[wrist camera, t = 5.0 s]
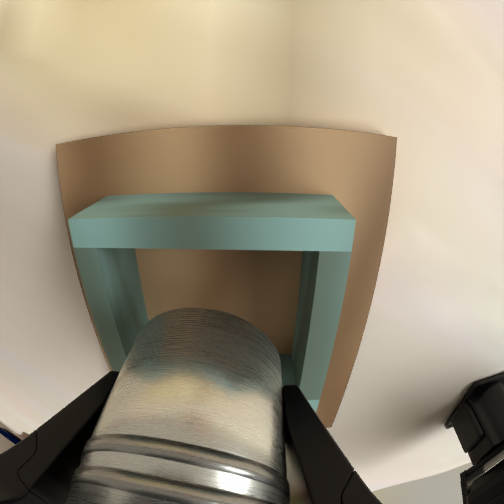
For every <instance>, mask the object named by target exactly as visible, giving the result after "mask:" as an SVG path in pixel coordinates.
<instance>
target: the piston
mask: <svg viewBox="0 0 504 504" xmlns="http://www.w3.org/2000/svg"><path fill="white" fill-rule="evenodd" d="M80 461H81V463H80V466H79V467H78V468H77V469H76V470H75V473H74V475H73V478H72V480H71V483H70V487H71V490H70V493H69V496H68V499H67V502H66V504H289V503H290V485H289V482H288V480H287V466H286V445H285V426H284V408H283V391H282V376H281V362H280V357H279V354H278V352H277V349H276V347H275V346H274V344H273V342H272V341H271V340H270V339H269V338H268V337H267V335H265V334H264V333H263V332H262V331H261V330H260V329H259V328H257V327H256V326H254V325H253V324H251V323H250V322H248V321H246V320H244V319H242V318H240V317H238V316H235V315H233V314H230V313H226V312H223V311H219V310H214V309H209V308H199V307H198V308H180V309H174V310H170V311H167V312H164V313H161V314H159V315H157V316H156V317H154V318H152V319H151V320H150V321H148V322H147V323H146V324H145V325H144V326H143V328H142V329H141V330H140V332H139V334H138V336H137V338H136V340H135V342H134V344H133V346H132V348H131V350H130V352H129V354H128V356H127V358H126V360H125V362H124V364H123V367H122V369H121V371H120V373H119V375H118V377H117V379H116V381H115V384H114V386H113V388H112V390H111V392H110V395H109V397H108V399H107V401H106V403H105V406H104V408H103V410H102V413H101V415H100V417H99V419H98V422H97V424H96V426H95V429H94V431H93V434H92V436H91V438H90V439H89V440H88V441H87V443H86V445H85V447H84V450H83V452H82V455H81V457H80Z"/></svg>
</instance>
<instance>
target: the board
mask: <svg viewBox="0 0 504 504" xmlns="http://www.w3.org/2000/svg"><path fill="white" fill-rule="evenodd" d="M396 144H397V137H391V136H385V135H378V134H371V133H363V132H354V131H345V130H335V129H323V128H310V127H292V126H260V125H231V126H199V127H182V128H168V129H156V130H146V131H137V132H129V133H121V134H114V135H107V136H100V137H94V138H88V139H82V140H77V141H72V142H67V143H62V144H57V145H56V152H57V163H58V173H59V181H60V189H61V196H62V202H63V209H64V214H65V220H66V225H67V230H68V235H69V240H70V245H71V249H72V254H73V258H74V262H75V266H76V270H77V274H78V278H79V281H80V285H81V288H82V292H83V295H84V299H85V302H86V305H87V308H88V311H89V315H90V318H91V321H92V324H93V326H94V329H95V332H96V335H97V338H98V340H99V343H100V346H101V348H102V351H103V354H104V356H105V359H106V361H107V364H108V366H109V369H110V371H118V372H120V371H121V369H122V367H123V364H124V362H125V360H126V358H127V356H128V354H129V352H130V350H131V348H132V346H133V344H134V342H135V340H136V338H137V336H138V334H139V332H140V330H141V329H142V328H143V326H144V325H145V324H146V323H147V322H148V321H150V320H151V319H152V318H154V317H156V316H157V315H159V314H161V313H164V312H167V311H170V310H174V309H180V308H198V307H199V308H209V309H214V310H219V311H223V312H226V313H230V314H233V315H235V316H238V317H240V318H242V319H244V320H246V321H248V322H250V323H251V324H253V325H254V326H256V327H257V328H259V329H260V330H261V331H262V332H263V333H264V334H265V335H267V337H268V338H269V339H270V340H271V341H272V342H273V344H274V346H275V347H276V349H277V352H278V354H279V357H280V362H281V376H282V389H283V386H284V385H297V386H298V387H299V388H300V390H301V391H302V393H303V394H304V396H305V397H306V399H307V400H308V402H309V403H310V405H311V406H312V408H313V409H314V411H315V412H316V414H317V415H318V417H319V418H320V420H321V421H322V423H323V424H324V426H325V427H326V428H327V427H332V424H333V422H334V419H335V417H336V414H337V412H338V409H339V406H340V404H341V401H342V398H343V395H344V392H345V390H346V387H347V384H348V381H349V378H350V375H351V372H352V369H353V366H354V363H355V359H356V356H357V353H358V350H359V346H360V343H361V340H362V336H363V332H364V329H365V325H366V322H367V318H368V314H369V310H370V306H371V302H372V298H373V294H374V289H375V285H376V281H377V276H378V271H379V266H380V262H381V256H382V251H383V246H384V240H385V235H386V229H387V222H388V216H389V209H390V202H391V194H392V186H393V177H394V168H395V157H396Z"/></svg>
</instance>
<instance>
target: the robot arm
mask: <svg viewBox="0 0 504 504" xmlns="http://www.w3.org/2000/svg"><path fill="white" fill-rule="evenodd" d="M119 373H120V372H118V371H110V372H109V373H108V374H106V375H105V376H104V377H103V378H101V379H100V380H99V381H98V382H96V383H95V384H94V385H92V386H91V387H90V388H89V389H87V390H86V391H85V392H84V393H82V394H81V395H80V396H79V397H77V398H76V399H75V400H73V401H72V402H71V403H70V404H68V405H67V406H66V407H65V408H63V409H62V410H61V411H59V412H58V413H57V414H56V415H54V416H53V417H52V418H51V419H49V420H48V421H47V422H45V423H44V424H43V425H42V426H40V427H39V428H38V429H37V430H35V431H34V432H32V433H31V434H30V435H29V436H28V437H26V438H25V439H23V440H22V441H20V442H19V443H18V444H16V445H15V446H13V447H12V448H10V449H8V450H7V451H5V452H3V453H2V454H0V504H66V502H67V499H68V496H69V493H70V490H71V487H70V483H71V480H72V478H73V475H74V473H75V470H76V469H77V468H78V467H79V466H80V463H81V461H80V457H81V455H82V452H83V450H84V447H85V445H86V443H87V441H88V440H89V439H90V438H91V436H92V434H93V431H94V429H95V426H96V424H97V422H98V419H99V417H100V415H101V413H102V410H103V408H104V406H105V403H106V401H107V399H108V397H109V395H110V392H111V390H112V388H113V386H114V384H115V381H116V379H117V377H118V375H119ZM282 391H283V408H284V426H285V445H286V466H287V480H288V482H289V485H290V503H289V504H382V503H381V502H380V501H379V500H378V499H377V498H376V496H375V495H374V494H373V493H372V492H371V491H370V489H369V488H368V487H367V486H366V484H365V483H364V482H363V480H362V479H361V478H360V476H359V475H358V473H357V472H356V471H354V468H353V467H352V465H351V464H350V462H349V461H348V459H347V458H346V456H345V455H344V454H343V452H342V451H341V449H340V448H339V446H338V445H337V443H336V442H335V440H334V439H333V438H332V436H331V435H330V433H329V432H328V430H327V429H326V427H325V426H324V424H323V423H322V421H321V420H320V418H319V417H318V415H317V414H316V412H315V411H314V409H313V408H312V406H311V405H310V403H309V402H308V400H307V399H306V397H305V396H304V394H303V393H302V391H301V390H300V388H299V387H298V386H297V385H284V386H283V389H282ZM451 427H454V429H455V432H456V434H457V436H458V438H459V441H460V443H461V445H462V448H463V450H464V452H465V453H467V452H468V454H469V457H470V459H471V462H472V464H473V465H474V466H472V467H471V468H469V469H468V470H465V471H464V472H462V473H461V474H460V477H461V488H462V495H463V504H504V459H503V458H504V373H502V374H499V375H497V376H494V377H491V378H487V379H484V380H481V381H478V382H476V383H474V384H473V385H472V387H471V388H470V390H469V391H468V393H467V394H466V396H465V397H464V399H463V400H462V401H461V403H460V404H459V406H458V407H457V409H456V410H455V411H454V413H453V414H452V415H451V417H450V418H449V419H448V421H447V422H446V423H445V428H446V429H448V428H451ZM501 459H503V460H502V461H500V460H501ZM499 461H500V462H499ZM497 462H499V463H498V464H496V463H497ZM495 464H496V465H495ZM494 465H495V466H494ZM492 466H494V467H492ZM491 467H492V468H491ZM490 468H491V469H490ZM488 469H490V470H488ZM487 470H488V471H487ZM485 471H487V472H486V473H485Z"/></svg>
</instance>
